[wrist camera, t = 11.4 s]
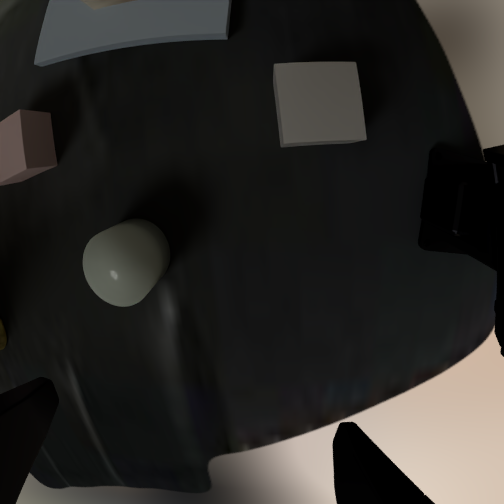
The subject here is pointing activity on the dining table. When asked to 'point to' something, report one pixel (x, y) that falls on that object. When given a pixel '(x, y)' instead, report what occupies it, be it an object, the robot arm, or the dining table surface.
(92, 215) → the dining table surface
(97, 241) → the sage cylinder
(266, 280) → the dining table surface
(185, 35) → the blue board
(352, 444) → the robot arm
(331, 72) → the off-white block
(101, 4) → the birch block
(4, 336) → the vase
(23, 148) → the pink block
